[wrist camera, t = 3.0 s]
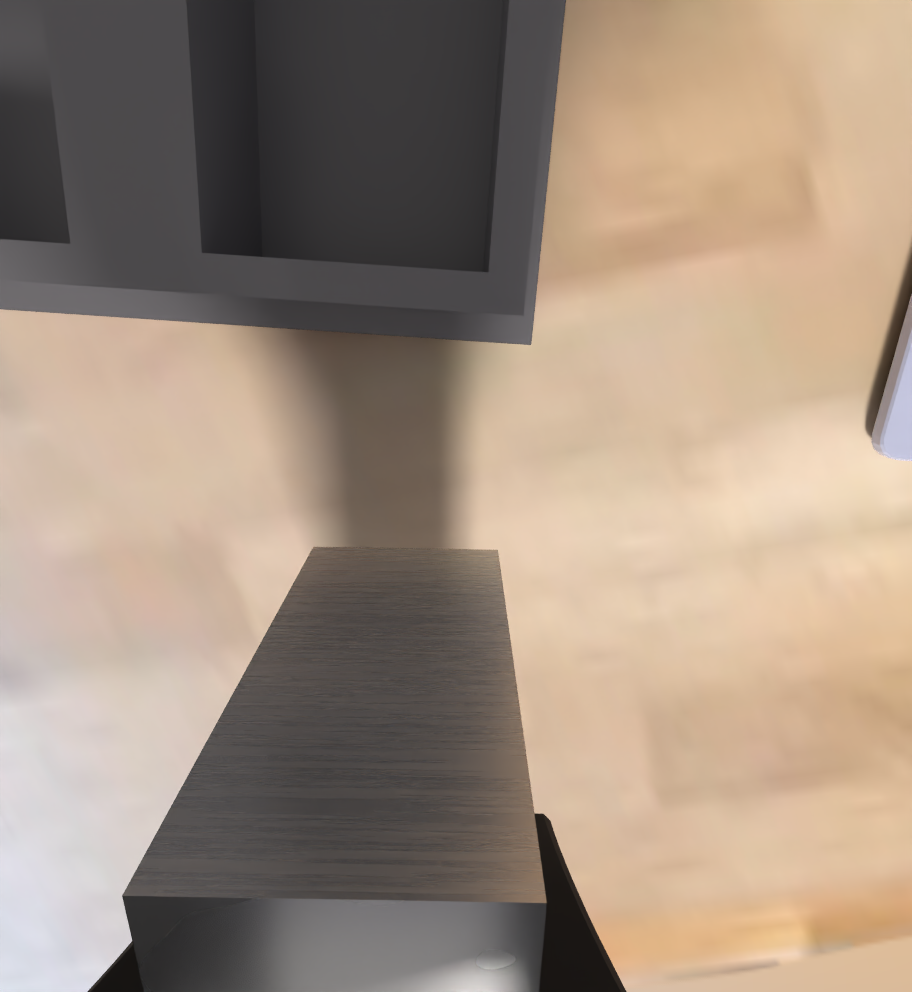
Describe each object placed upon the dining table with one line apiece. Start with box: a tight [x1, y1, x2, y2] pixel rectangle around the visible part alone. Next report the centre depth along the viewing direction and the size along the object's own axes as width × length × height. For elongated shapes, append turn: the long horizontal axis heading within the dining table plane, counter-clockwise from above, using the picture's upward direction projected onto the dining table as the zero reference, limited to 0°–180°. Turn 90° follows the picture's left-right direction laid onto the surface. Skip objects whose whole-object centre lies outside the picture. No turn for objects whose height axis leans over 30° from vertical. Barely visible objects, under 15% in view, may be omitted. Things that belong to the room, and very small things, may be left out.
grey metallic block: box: [122, 547, 547, 992], centre depth 9 cm, size 3×8×6 cm, turn 179°
